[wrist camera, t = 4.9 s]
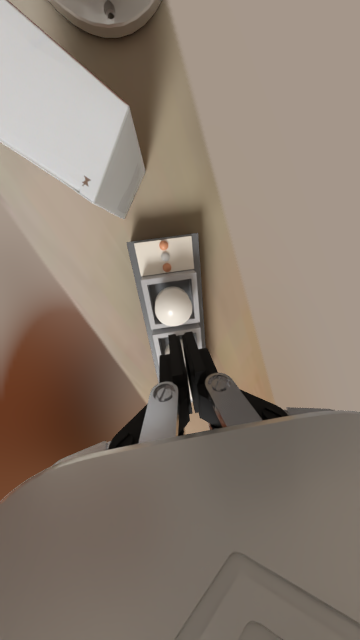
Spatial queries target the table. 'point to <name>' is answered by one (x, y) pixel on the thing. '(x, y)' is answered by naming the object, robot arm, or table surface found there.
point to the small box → (65, 117)
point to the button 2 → (173, 306)
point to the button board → (168, 285)
